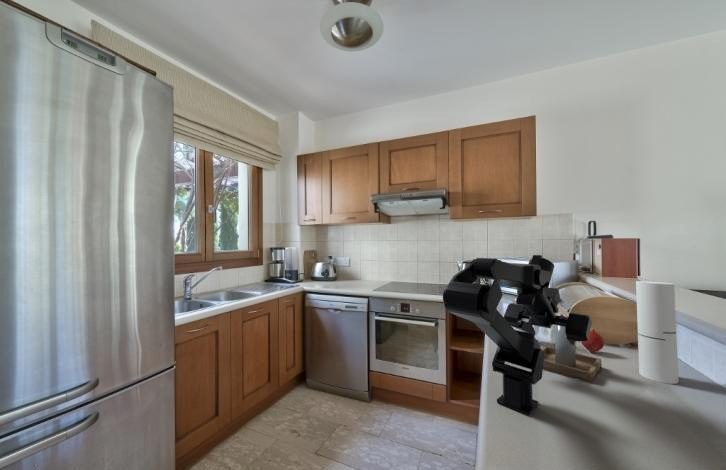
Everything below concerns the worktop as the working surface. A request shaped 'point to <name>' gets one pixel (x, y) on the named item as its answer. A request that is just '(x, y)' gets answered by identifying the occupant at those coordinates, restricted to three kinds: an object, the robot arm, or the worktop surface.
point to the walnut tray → (583, 371)
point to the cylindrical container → (657, 331)
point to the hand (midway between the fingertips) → (553, 338)
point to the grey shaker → (564, 348)
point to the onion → (593, 342)
